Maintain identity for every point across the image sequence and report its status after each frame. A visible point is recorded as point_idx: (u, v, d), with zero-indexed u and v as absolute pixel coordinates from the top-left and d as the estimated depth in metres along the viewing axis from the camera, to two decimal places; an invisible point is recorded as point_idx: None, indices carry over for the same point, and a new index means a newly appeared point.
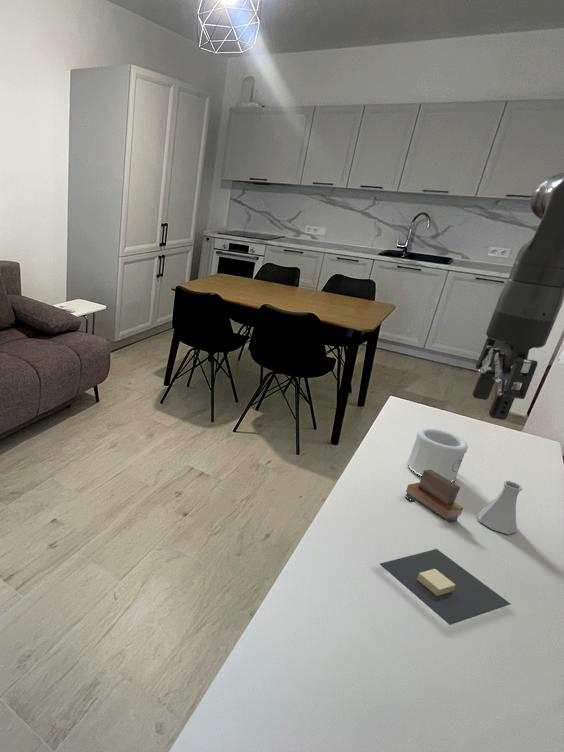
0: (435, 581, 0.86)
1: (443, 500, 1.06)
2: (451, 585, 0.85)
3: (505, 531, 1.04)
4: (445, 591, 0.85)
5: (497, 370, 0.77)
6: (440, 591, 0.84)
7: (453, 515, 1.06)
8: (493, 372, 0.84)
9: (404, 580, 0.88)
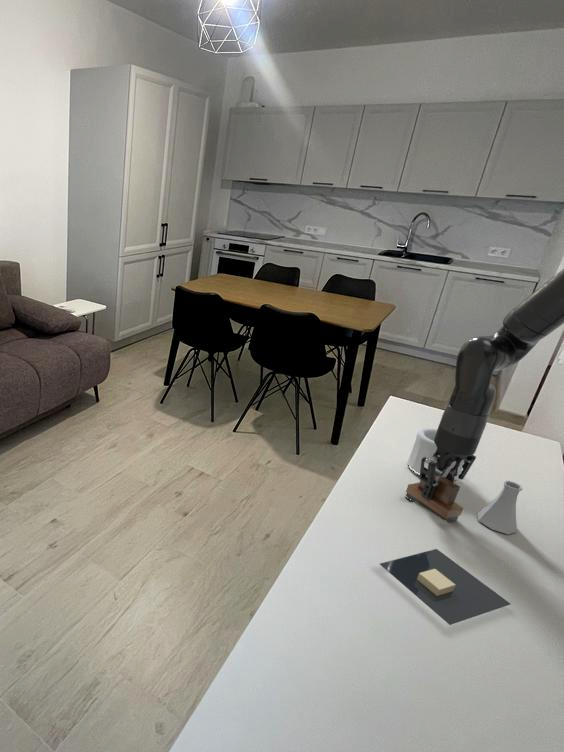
0: (435, 581, 0.86)
1: (443, 500, 1.06)
2: (451, 585, 0.85)
3: (505, 531, 1.04)
4: (445, 591, 0.85)
5: None
6: (440, 591, 0.84)
7: (453, 515, 1.06)
8: None
9: (404, 580, 0.88)
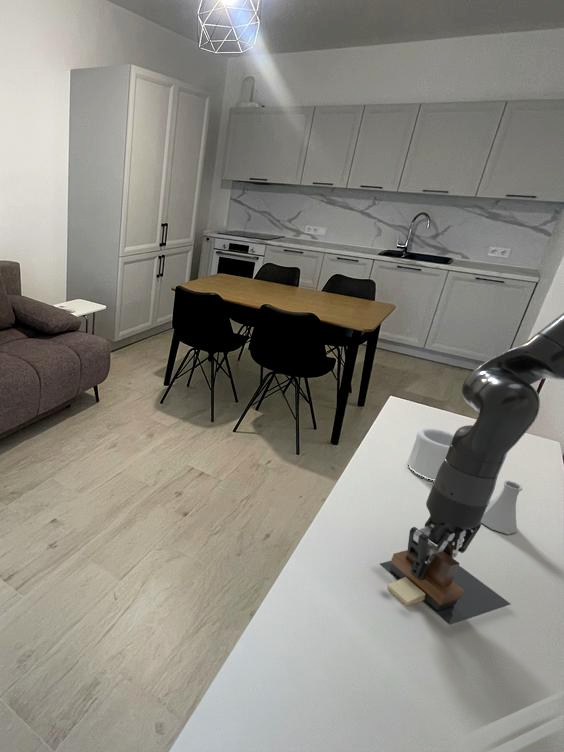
0: (404, 593, 0.83)
1: (438, 579, 0.82)
2: (420, 595, 0.83)
3: (505, 531, 1.04)
4: (415, 602, 0.83)
5: None
6: (408, 603, 0.82)
7: (450, 600, 0.81)
8: None
9: None
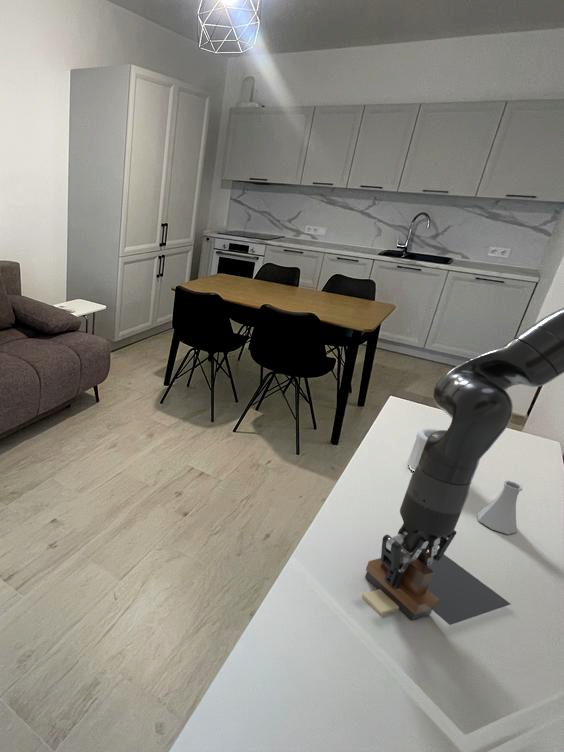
0: (378, 603, 0.81)
1: (412, 588, 0.80)
2: (394, 607, 0.81)
3: (505, 531, 1.04)
4: None
5: None
6: None
7: (425, 609, 0.79)
8: None
9: None
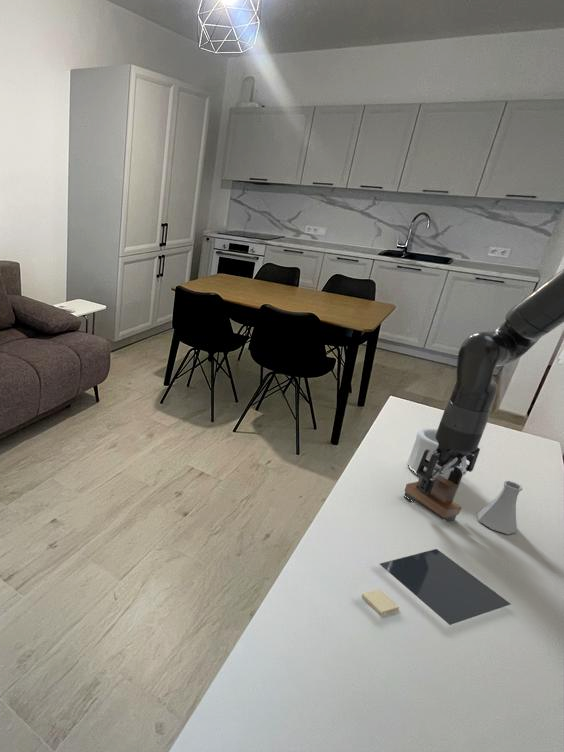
0: (378, 603, 0.81)
1: (441, 499, 1.07)
2: (394, 607, 0.81)
3: (505, 531, 1.04)
4: None
5: None
6: None
7: (451, 514, 1.06)
8: None
9: (404, 580, 0.88)
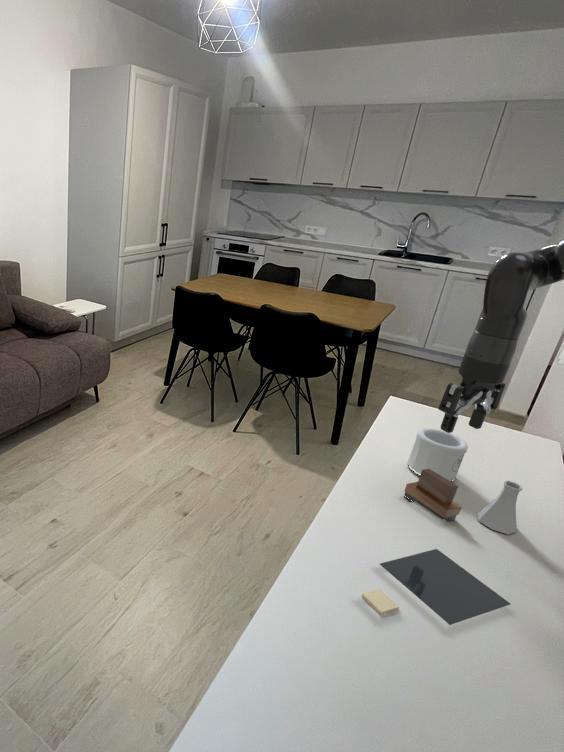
0: (378, 603, 0.81)
1: (441, 499, 1.07)
2: (394, 607, 0.81)
3: (505, 531, 1.04)
4: None
5: None
6: None
7: (451, 514, 1.06)
8: None
9: (404, 580, 0.88)
